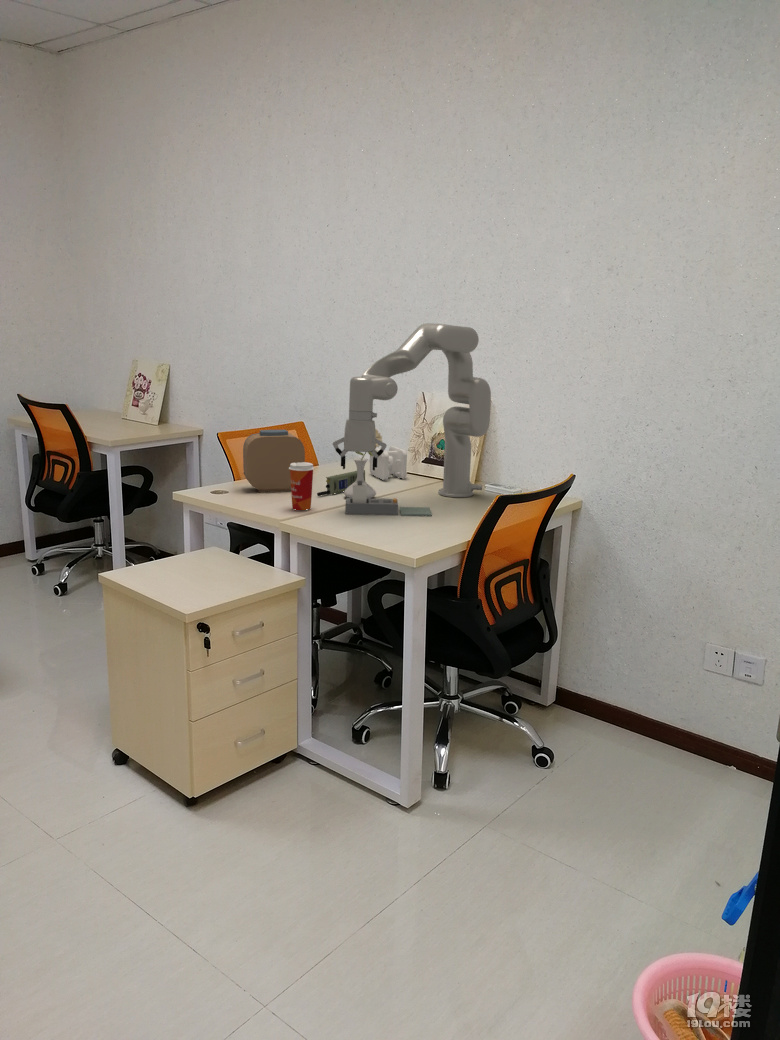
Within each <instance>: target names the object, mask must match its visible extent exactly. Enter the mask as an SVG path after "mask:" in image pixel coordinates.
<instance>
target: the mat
mask: <svg viewBox="0 0 780 1040" xmlns="http://www.w3.org/2000/svg"><path fill="white" fill-rule="evenodd" d="M399 512H400V516H401V517H432V516H433V514H432V510H431V507H428V506H421V507H420V506H399Z"/></svg>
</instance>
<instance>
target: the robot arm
mask: <svg viewBox="0 0 780 1040" xmlns="http://www.w3.org/2000/svg"><path fill="white" fill-rule="evenodd" d="M479 342H480V341H479V334H478V332H477V331H476V330H475V329H474V328H473V327H470V326H460V325H459V326H458V325H452V324H445V323H430V322H429V323H428V322H427V323H423V324H420V325H419V326H418V327H417V328H416V329H415V330H414V331H413V332H412V333H411V334H410V335H409V336H408V338H406V339H405V340H404V341H403V343H402V344H400V346H399V347H398V348H397V349H396V350H394V351H393V352H392V351H391V352H390V353H388V354H387V355H385V356H383V357H382V358H380V359H378V360H377V361H375V362H374V363H373V364H371V365H370V366H369V367H367V369H366V370H365V371H364V373H362V375H361V376H353V377H351V379H350V381H349V399H348V401H349V402H348V405H349V407H348V418H347V419H346V420H345V427H344V433H343V434H344V435H343V437H341V438H339V439H336V440H335V441H333V442H332V446H333V448H334V450H335V452H336V453H337V454H338V455H339V456H340V467H342V470H345V469H346V457H347V456H346V454H347V453H348V452H355V453H356V452H361V453H365V452H366V453H368V452H371V453H372V454H373V455H374V457H373V470H375V467H376V468H377V458H378V457H379V456H380V455H381V454H382V453H383V452H384V451H386V448H387V443H385V442H383V441H382V442H381V441H380V440H378V439H376V430H375V429H376V422H375V420H373V419H374V418H377V417H378V412H374V400H379V401H390V400H392V399H393V398H394V397H395V396H396V395H397V393H398V383H397V382H396V381H395V380H394V379H393V378H391V377H393V376H395V375H400V374H404V373H408V372H410V371H412V370H414V369H416V368H417V367H418V366H419V364H421V363H422V361H424V360H425V358H426V357H427V356H428V355H429V354H430V353H431V352H432V351H435V350H436V351H442V353H443V354H444V355H445V357H446V359H447V364H448V365H447V366H448V367H447V368H448V377H447V378H448V379H447V380H448V381H447V389H448V390H447V394H448V398H449V400H450V401H451V402H453V403H457V404H463V405H468V407H466V406H452V407H450V408H448V409H447V410H446V411H445V412H444V415H443V418H442V424H443V425H442V427H443V431H444V457H443V477H442V478H443V479H442V480H443V483H442V488H440V489H439V490H438V494H439V495H440V496H443V497H448V498H470V497H472V496H473V495H474V491H483V484H478V483H477V484H476V483H471V482H472V481H470V480H471V478H470V477H471V460H472V443H471V439H470V437H476V438H480V437H483V436H484V435H486V433H487V432H488V430H489V427H490V424H491V423H490V422H491V404H492V403H491V399H492V398H491V397H492V392H491V387H490V385H489V383H488V381H487V380H485V379H484V378H482V377H475V376H474V371H473V366H474V365H473V364H474V363H473V358H472V355H471V353H472V352H474V351H475V350H476V349H477V347H478V344H479ZM376 443H377V444H378V445H380V446H379V447H380V448H379V449H380V450H379V451H378V452H376V451H375V445H376ZM341 444H343V447H344V448H343V449H340V447H339V445H341Z"/></svg>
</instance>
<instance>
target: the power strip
mask: <svg viewBox="0 0 780 1040" xmlns="http://www.w3.org/2000/svg"><path fill="white" fill-rule="evenodd" d="M344 504H345V508H344V510H345V512H344V513H345V515H368V514H374V516H375V515H377V516H378V515H379V516H380V515H383V516H384V515H385V516H398V515H399V501H398V498H367V499H366V503H353V498H349V497H346V498H345V503H344Z"/></svg>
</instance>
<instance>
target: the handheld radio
mask: <svg viewBox="0 0 780 1040" xmlns="http://www.w3.org/2000/svg"><path fill="white" fill-rule="evenodd" d="M325 478H326V481H325V482H326V485H325V488H326V490H325V491H319V492H317V493H316V494H317V497H321V495H322V496H325V495H327V494H334V493H339V492H343V491H345V490H346V489H347V488H348V487H349V486H350V485H352V484H353V483H354V482H355V481H356V479H357V470H354V471H350V472H345V473H339V474H335V475H330V476H327V477H325ZM364 480H365V481H366V470H365V469H364ZM343 493H344V492H343ZM339 494H340V493H339Z"/></svg>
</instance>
